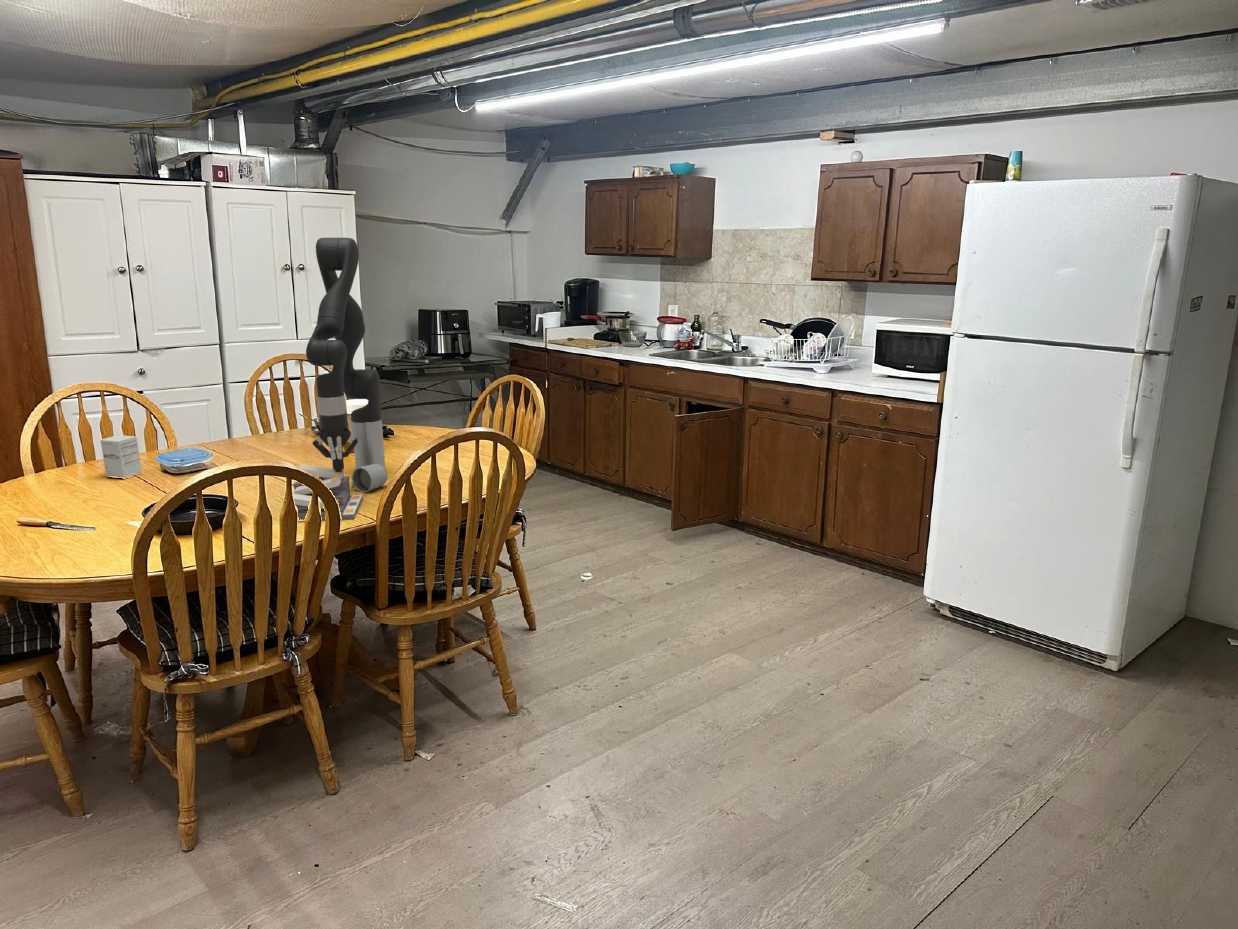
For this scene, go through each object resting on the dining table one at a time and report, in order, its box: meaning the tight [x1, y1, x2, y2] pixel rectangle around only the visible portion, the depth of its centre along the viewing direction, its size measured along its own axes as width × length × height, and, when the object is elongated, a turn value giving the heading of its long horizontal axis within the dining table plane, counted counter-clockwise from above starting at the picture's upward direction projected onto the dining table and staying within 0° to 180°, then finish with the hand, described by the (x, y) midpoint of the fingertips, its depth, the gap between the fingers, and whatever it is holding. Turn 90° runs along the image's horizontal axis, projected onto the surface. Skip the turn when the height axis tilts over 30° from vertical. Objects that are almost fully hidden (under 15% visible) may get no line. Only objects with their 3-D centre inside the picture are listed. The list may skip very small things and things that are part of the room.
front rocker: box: [292, 493, 339, 509], centre depth 232 cm, size 4×12×2 cm, turn 98°
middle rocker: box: [293, 476, 341, 495], centre depth 237 cm, size 4×12×2 cm, turn 98°
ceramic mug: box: [350, 464, 389, 493], centre depth 258 cm, size 11×8×8 cm
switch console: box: [293, 475, 364, 522], centre depth 238 cm, size 18×18×8 cm
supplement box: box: [100, 434, 143, 478], centre depth 270 cm, size 7×7×13 cm
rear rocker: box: [297, 464, 345, 479], centre depth 242 cm, size 4×12×2 cm, turn 98°
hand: (338, 471), depth 243 cm, fingers closed
